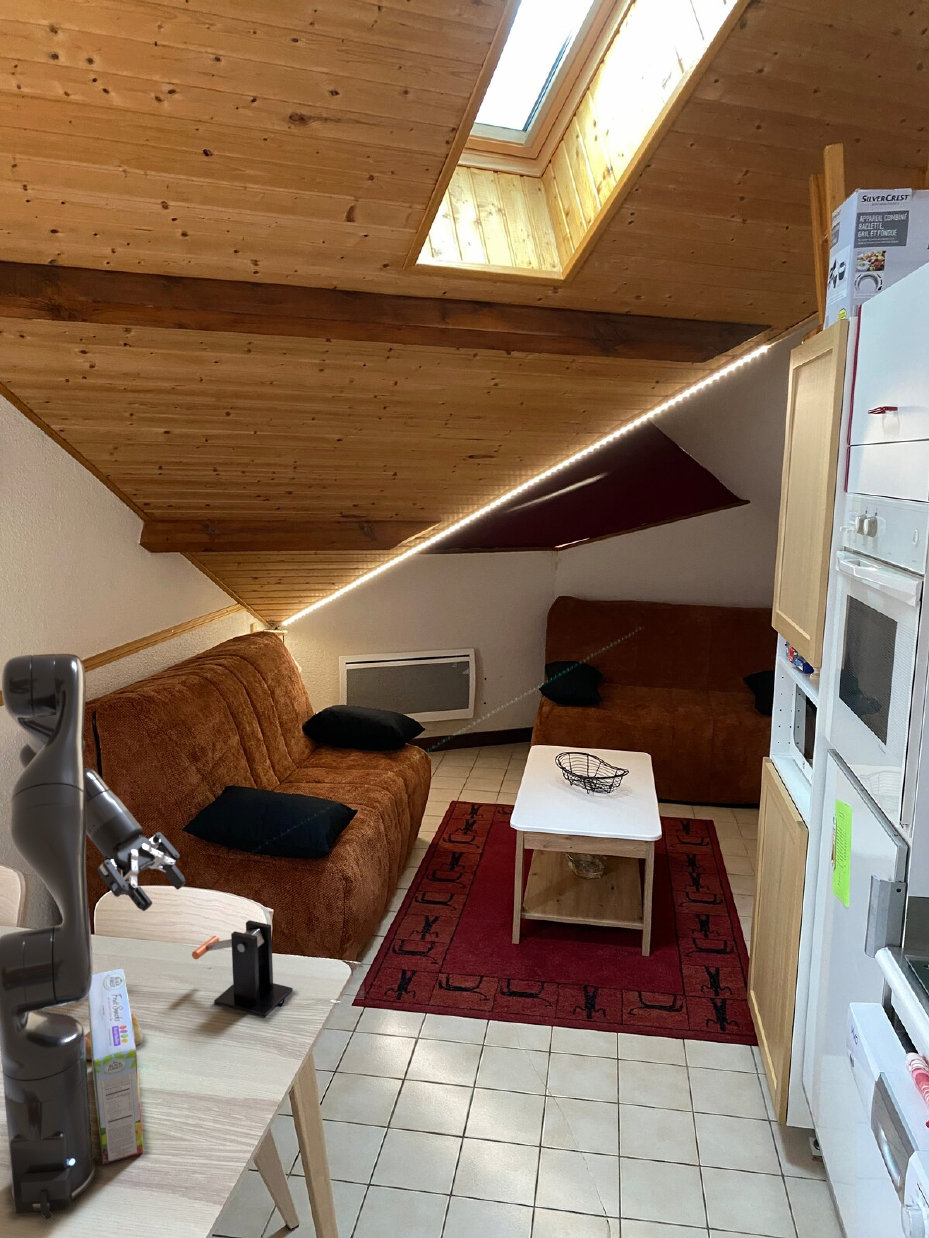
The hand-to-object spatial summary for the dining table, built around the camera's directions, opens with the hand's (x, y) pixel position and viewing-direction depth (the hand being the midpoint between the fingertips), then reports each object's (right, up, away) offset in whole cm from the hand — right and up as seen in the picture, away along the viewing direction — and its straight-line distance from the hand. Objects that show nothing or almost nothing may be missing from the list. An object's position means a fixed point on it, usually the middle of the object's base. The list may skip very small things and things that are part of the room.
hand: (165, 896), depth 154 cm
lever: (+12, -8, -4) cm, 15 cm away
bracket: (+16, -16, -4) cm, 23 cm away
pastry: (-3, -18, -16) cm, 24 cm away
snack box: (+3, -21, -29) cm, 36 cm away
